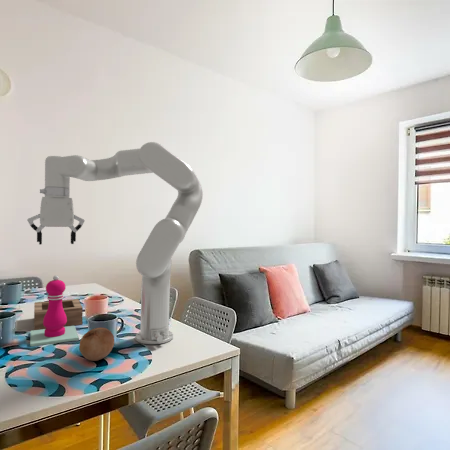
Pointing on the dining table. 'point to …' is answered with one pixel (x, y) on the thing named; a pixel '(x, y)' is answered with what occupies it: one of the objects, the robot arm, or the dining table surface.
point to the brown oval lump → (96, 344)
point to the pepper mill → (55, 309)
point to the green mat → (41, 339)
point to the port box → (70, 309)
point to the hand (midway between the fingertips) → (56, 244)
